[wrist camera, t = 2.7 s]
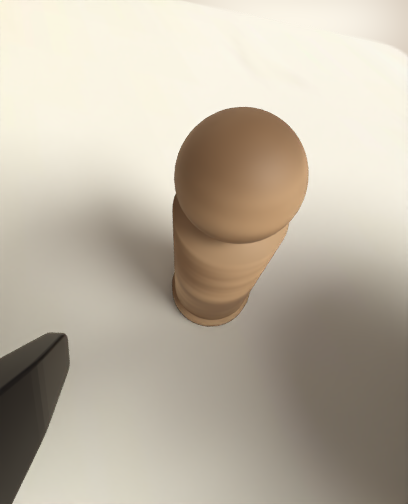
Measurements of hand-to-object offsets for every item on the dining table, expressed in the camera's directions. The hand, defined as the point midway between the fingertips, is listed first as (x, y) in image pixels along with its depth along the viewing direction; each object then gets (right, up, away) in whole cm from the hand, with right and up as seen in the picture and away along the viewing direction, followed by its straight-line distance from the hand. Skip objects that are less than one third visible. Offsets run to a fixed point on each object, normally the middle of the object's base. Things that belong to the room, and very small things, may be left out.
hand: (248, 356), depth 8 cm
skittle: (-1, 0, +14) cm, 14 cm away
